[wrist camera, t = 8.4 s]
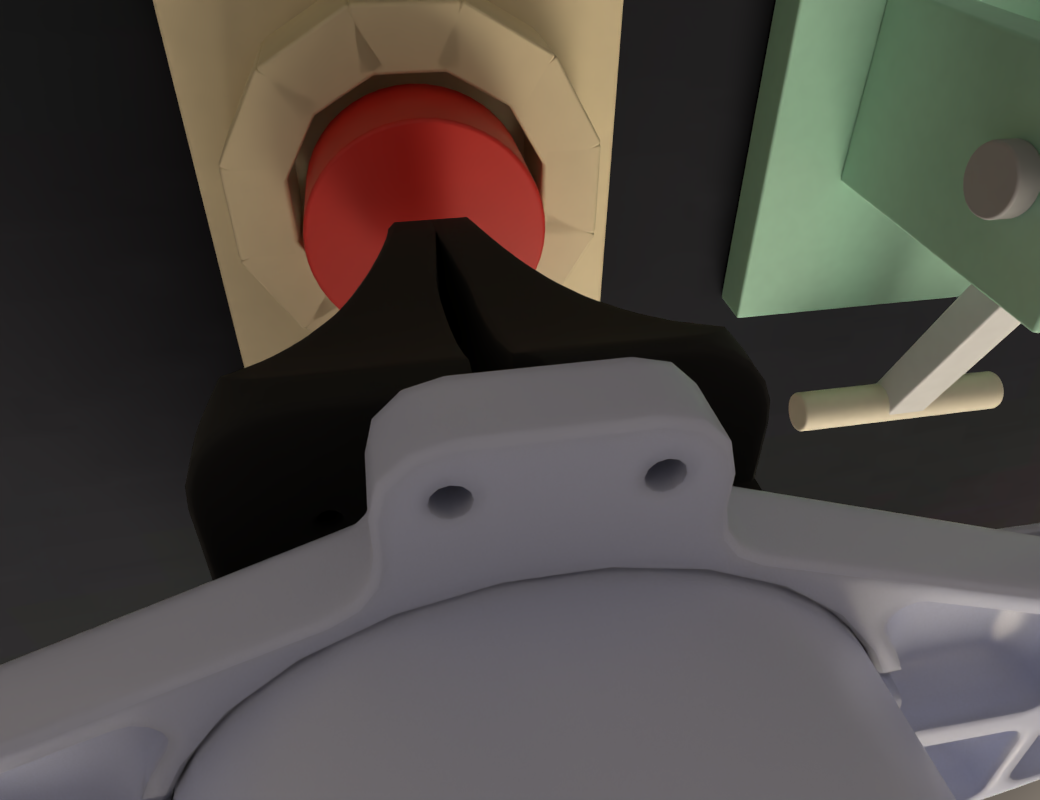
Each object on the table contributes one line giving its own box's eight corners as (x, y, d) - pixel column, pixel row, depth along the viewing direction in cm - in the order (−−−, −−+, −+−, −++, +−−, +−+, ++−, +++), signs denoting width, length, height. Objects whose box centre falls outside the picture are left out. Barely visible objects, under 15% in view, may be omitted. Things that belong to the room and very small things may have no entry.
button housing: (580, 368, 24) (612, 445, 21) (264, 401, 22) (254, 487, 19) (611, -117, 16) (667, -96, 13) (142, -111, 15) (99, -87, 12)
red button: (524, 281, 18) (543, 330, 16) (322, 299, 17) (322, 352, 16) (526, 76, 15) (550, 111, 14) (287, 87, 15) (283, 126, 13)
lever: (962, 363, 24) (998, 435, 23) (776, 384, 23) (803, 459, 22) (1301, 54, 15) (1388, 150, 14) (1007, 69, 14) (1074, 174, 13)
